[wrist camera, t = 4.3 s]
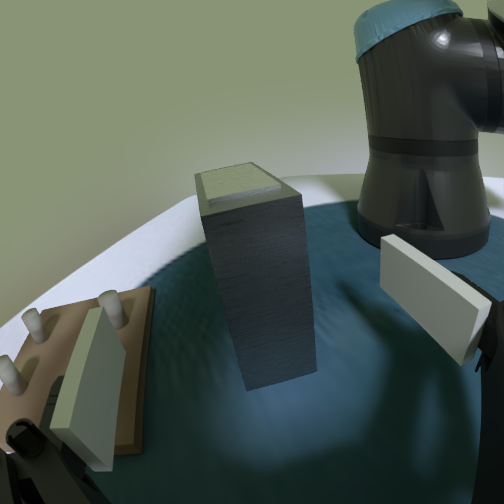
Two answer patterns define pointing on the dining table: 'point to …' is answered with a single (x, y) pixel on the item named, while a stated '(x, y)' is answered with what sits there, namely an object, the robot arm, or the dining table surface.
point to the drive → (260, 270)
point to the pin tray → (59, 354)
